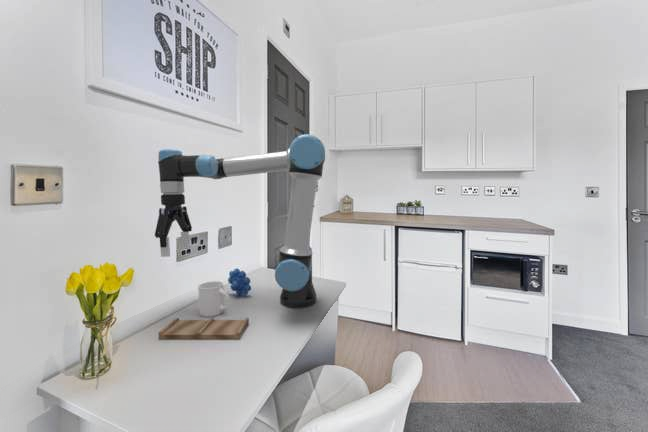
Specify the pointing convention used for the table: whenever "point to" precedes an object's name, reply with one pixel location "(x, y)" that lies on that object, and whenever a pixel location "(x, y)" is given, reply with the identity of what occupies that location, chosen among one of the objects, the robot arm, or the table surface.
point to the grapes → (239, 282)
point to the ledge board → (204, 329)
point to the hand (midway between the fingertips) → (176, 252)
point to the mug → (211, 298)
